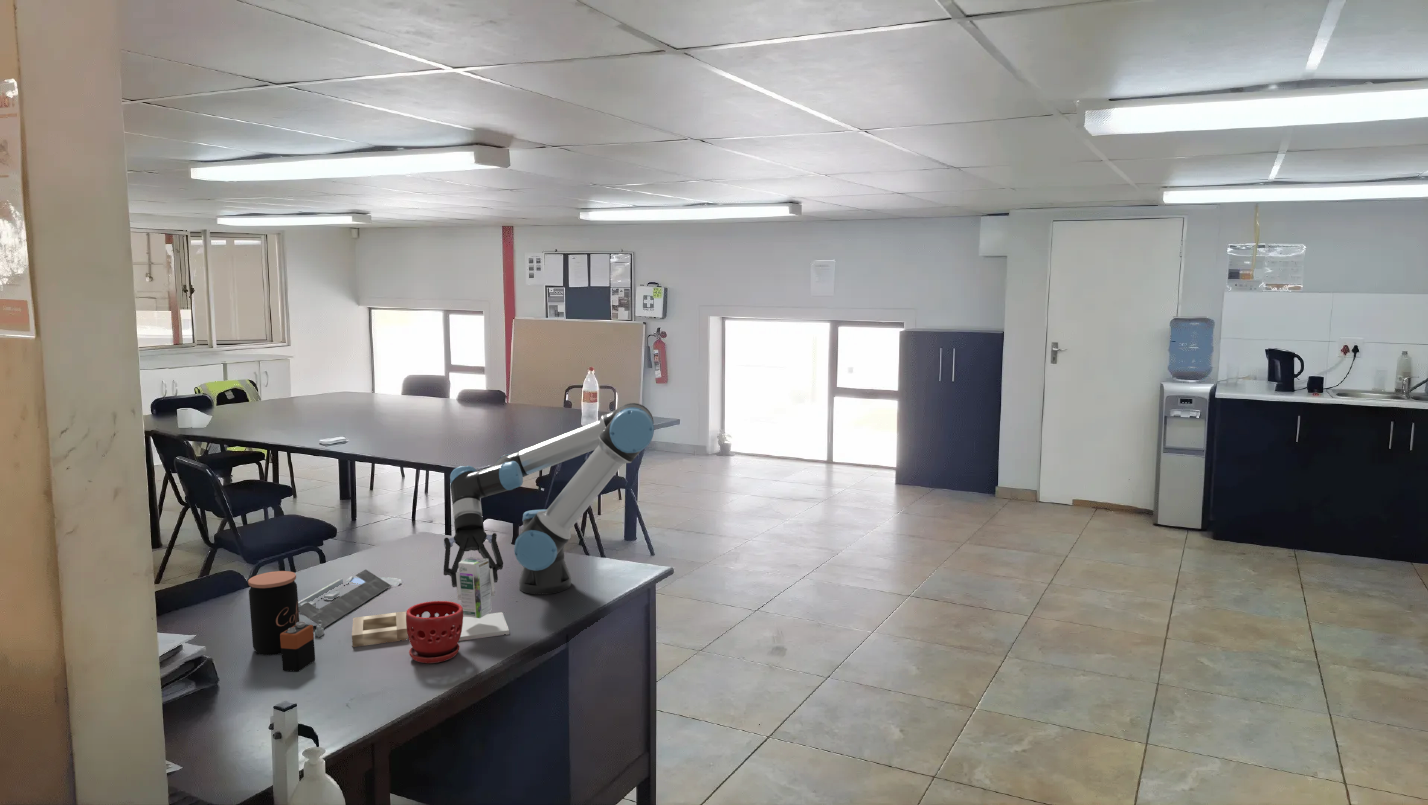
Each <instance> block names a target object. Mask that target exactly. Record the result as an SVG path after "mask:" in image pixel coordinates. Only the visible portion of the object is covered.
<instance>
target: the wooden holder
mask: <svg viewBox="0 0 1428 805" xmlns="http://www.w3.org/2000/svg"><path fill="white" fill-rule="evenodd" d="M406 611H407V610H406ZM406 611H399V612H398V611H397V612H390V613H382V614H373V615H367V616H366V615H364V616H357V617H353V618H352V629H351V643H352V645H351V646H352V648H356V647H357V648H358V647H364V646H371V645H379V644H380V645H381V644H384V643H385V644H387V643H395V642H401V641H400V640H402V641H407V640H406V639H408V640H409V638H408V634H407V627H406ZM386 642H387V643H386Z"/></svg>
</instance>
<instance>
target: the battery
mask: <svg viewBox="0 0 1428 805" xmlns="http://www.w3.org/2000/svg"><path fill="white" fill-rule="evenodd" d="M280 642H281V654H280V655H281V667H282V668H281V669H282V671H283V672H284V671H285V672H295V673H298V672H301V670H304V668H306V667H308V666H309V665H311V664H312V663H314V662H315V661H316V653H315V652H316V650H315V648H316V647H315V633H314V625H312V624H309V623H308V624H306V620H305V621H303V620H301V621H300V620H299V622H297V623H296V625H295V626H293V627H291V628H289V629H288V630H286V631H284V632H283V633H281V634H280Z"/></svg>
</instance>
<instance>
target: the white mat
mask: <svg viewBox="0 0 1428 805" xmlns="http://www.w3.org/2000/svg"><path fill="white" fill-rule="evenodd" d="M504 634H506V635H509V634H510V630H509V626H508V624H507V621H506V618H505V616H504V613H503V612H499V611H498V612H494V613H492V612H491V613H488V614H486V615H485V616H483V617H481V618H473V617H463V626H462V632H461V636H460V639H459V641H458V642H461V641H467V640H475V639H482V638H489V637H497V636H498V637H499V636H503V635H504Z"/></svg>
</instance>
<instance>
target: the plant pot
mask: <svg viewBox="0 0 1428 805" xmlns="http://www.w3.org/2000/svg"><path fill="white" fill-rule="evenodd" d="M424 613H428V614H429V617H423V614H424ZM436 614H438V616H436ZM462 626H463V608H462V606H461V603H457V602H454V601H449V600H448V601H447V600H434V601H433V600H432V601H425V602H420V603H417V604H414V605H412V606H410V607H409V608H408V609H407V610H406V627H407V634H408V641H409V643H410V645H411V647H410V649H409V650H408V654H409V656H410V658H411V659H412V660H414V661H415V662H418V663H423V664H437V663H442V662H445V661H448V660H451V659H453V658H454V657H455V656H456V655H457V654H458V653H459V651H460V648H461V647H460V645H459V643H458V642H460V641H459V639H460V636H461V632H462Z"/></svg>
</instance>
